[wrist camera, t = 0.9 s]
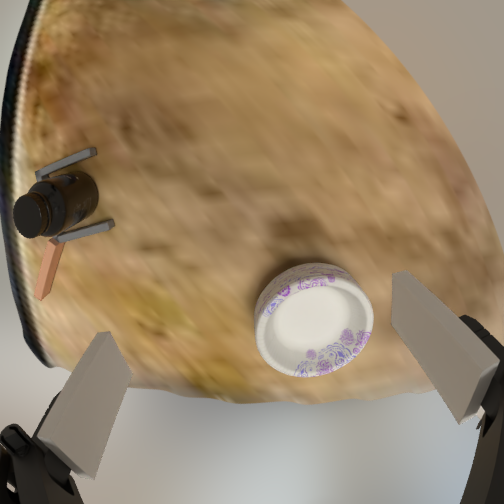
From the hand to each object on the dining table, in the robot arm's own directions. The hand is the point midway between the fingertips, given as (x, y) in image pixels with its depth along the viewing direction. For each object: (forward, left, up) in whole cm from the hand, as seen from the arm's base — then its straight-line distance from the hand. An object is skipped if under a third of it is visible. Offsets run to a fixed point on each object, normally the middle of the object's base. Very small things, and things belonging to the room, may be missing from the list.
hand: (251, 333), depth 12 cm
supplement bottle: (-7, -22, -26) cm, 35 cm away
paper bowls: (+15, +6, -26) cm, 31 cm away
